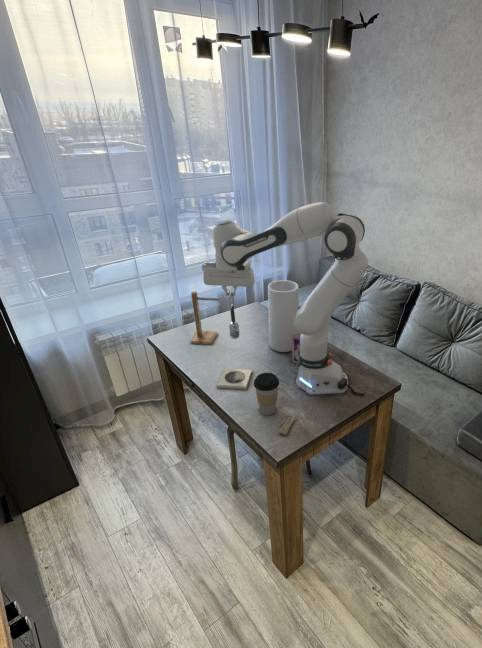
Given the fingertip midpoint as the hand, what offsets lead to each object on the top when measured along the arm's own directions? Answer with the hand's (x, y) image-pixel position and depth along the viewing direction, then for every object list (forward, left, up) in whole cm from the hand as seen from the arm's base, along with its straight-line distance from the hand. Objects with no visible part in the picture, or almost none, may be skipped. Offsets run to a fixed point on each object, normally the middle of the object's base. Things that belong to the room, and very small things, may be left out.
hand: (230, 295), depth 163 cm
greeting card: (-31, -4, -34) cm, 46 cm away
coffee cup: (-19, +31, -34) cm, 50 cm away
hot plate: (-2, +13, -34) cm, 36 cm away
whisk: (0, 0, -21) cm, 21 cm away
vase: (-19, -17, -34) cm, 43 cm away
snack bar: (-28, +39, -34) cm, 59 cm away
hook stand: (+18, -19, -34) cm, 43 cm away
